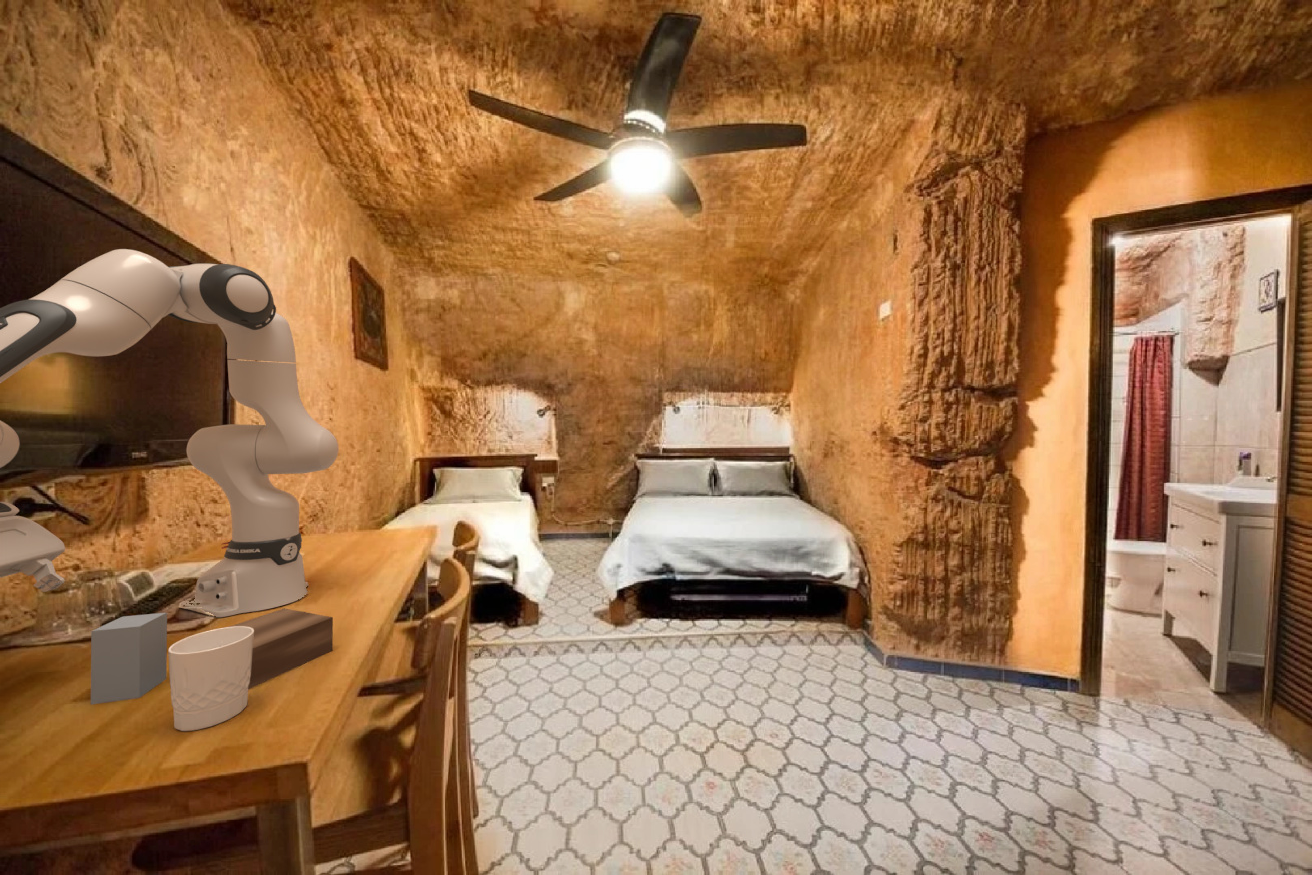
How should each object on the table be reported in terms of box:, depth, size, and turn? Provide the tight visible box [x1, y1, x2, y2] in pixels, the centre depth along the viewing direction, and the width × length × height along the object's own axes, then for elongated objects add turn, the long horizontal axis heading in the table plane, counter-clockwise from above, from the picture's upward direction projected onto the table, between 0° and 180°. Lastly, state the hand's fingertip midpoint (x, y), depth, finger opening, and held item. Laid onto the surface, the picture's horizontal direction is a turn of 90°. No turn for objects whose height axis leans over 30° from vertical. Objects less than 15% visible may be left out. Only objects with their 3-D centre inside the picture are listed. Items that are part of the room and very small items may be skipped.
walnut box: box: [229, 607, 334, 690], centre depth 70 cm, size 12×12×6 cm
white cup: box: [167, 626, 254, 732], centre depth 57 cm, size 8×8×10 cm
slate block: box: [90, 612, 168, 705], centre depth 62 cm, size 5×5×10 cm
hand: (21, 598), depth 59 cm, fingers open, 8 cm apart
